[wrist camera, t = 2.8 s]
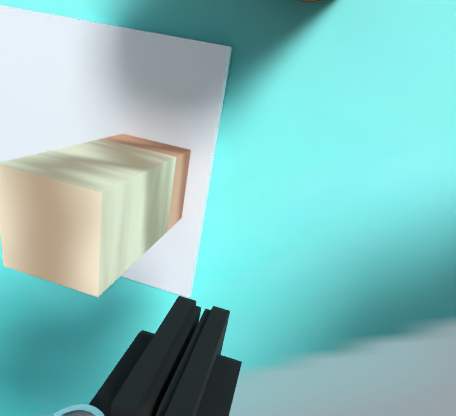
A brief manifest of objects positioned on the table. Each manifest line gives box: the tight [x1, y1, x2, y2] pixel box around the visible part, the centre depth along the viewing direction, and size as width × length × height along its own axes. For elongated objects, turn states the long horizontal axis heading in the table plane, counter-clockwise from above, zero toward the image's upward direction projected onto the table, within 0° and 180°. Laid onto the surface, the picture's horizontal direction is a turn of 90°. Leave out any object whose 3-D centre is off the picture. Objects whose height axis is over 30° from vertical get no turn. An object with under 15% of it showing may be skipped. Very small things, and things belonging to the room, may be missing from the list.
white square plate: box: [0, 5, 232, 298], centre depth 25 cm, size 17×18×1 cm
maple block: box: [0, 134, 191, 297], centre depth 19 cm, size 5×5×10 cm
